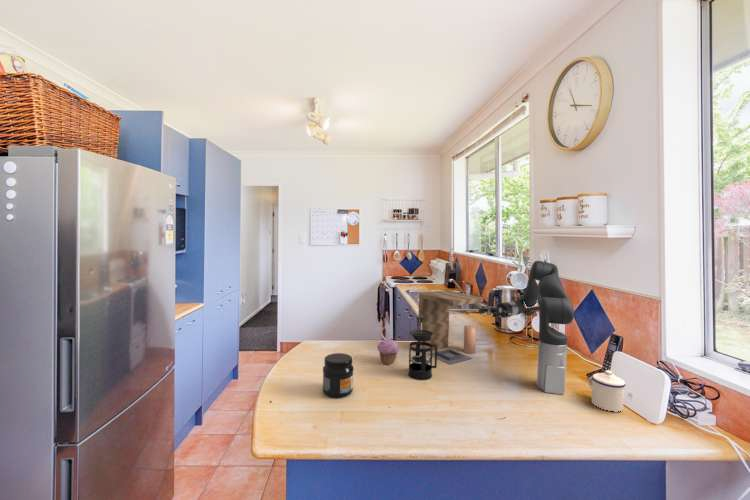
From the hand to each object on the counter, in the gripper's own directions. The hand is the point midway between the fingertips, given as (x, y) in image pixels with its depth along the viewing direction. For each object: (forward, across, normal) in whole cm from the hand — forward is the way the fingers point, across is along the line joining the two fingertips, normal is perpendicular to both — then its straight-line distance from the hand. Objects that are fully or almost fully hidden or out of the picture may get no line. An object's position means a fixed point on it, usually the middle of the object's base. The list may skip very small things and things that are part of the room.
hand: (486, 313), depth 166 cm
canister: (+11, 0, +17) cm, 21 cm away
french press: (+49, +10, +17) cm, 53 cm away
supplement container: (+84, +6, +17) cm, 86 cm away
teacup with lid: (+11, +58, +17) cm, 61 cm away
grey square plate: (+24, 0, +17) cm, 30 cm away
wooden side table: (+24, 0, +17) cm, 30 cm away
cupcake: (+53, -8, +17) cm, 57 cm away
